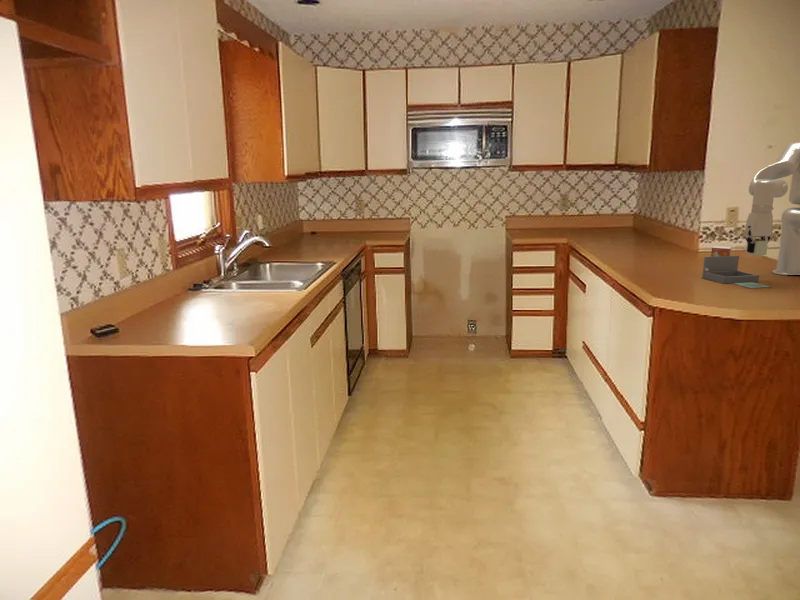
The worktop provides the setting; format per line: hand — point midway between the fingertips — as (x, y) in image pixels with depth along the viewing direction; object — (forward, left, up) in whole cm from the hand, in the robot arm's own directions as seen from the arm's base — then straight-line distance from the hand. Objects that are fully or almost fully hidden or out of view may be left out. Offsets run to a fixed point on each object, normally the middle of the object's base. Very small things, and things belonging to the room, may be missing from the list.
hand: (756, 251), depth 258 cm
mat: (0, 0, -15) cm, 15 cm away
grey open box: (0, -13, -15) cm, 20 cm away
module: (0, 0, -1) cm, 1 cm away
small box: (-6, -28, -15) cm, 32 cm away
